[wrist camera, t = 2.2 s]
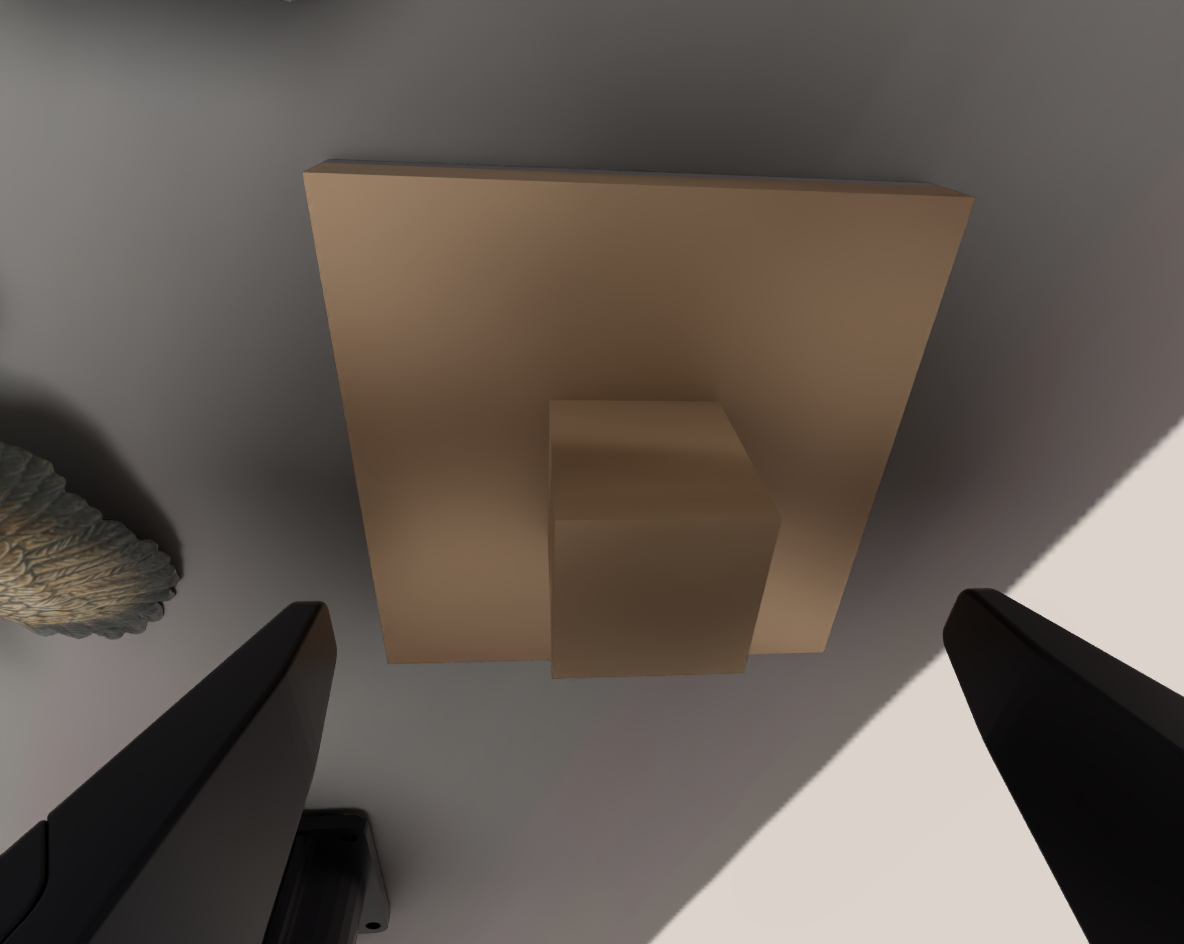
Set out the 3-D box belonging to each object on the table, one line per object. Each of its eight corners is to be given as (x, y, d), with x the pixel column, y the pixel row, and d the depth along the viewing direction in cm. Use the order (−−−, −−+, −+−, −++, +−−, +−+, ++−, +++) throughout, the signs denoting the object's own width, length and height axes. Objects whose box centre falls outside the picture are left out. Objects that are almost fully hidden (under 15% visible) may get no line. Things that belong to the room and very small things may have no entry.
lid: (808, 621, 16) (892, 792, 12) (395, 630, 15) (350, 818, 12) (941, 186, 11) (1158, 255, 7) (321, 162, 10) (194, 226, 6)
